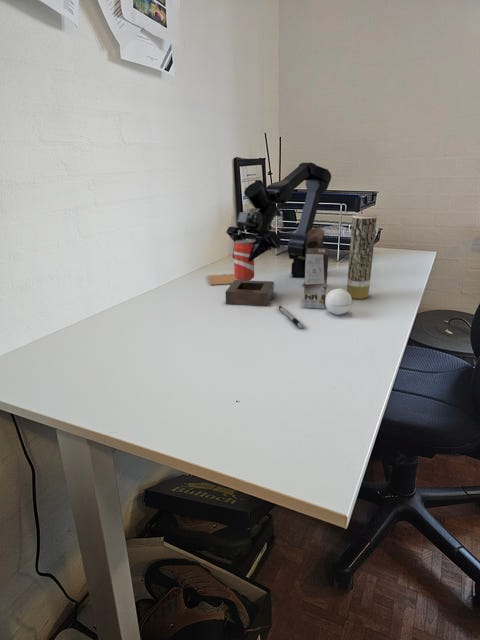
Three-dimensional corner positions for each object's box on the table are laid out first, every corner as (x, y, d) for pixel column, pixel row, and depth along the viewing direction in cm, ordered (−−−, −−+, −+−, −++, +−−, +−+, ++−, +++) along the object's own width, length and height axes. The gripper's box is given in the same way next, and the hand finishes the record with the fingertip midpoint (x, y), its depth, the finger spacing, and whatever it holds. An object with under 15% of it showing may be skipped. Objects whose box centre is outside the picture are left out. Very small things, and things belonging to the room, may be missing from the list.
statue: (325, 284, 139) (329, 226, 132) (320, 290, 133) (324, 229, 126) (306, 282, 142) (309, 225, 135) (300, 288, 136) (303, 228, 129)
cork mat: (239, 274, 154) (239, 273, 154) (244, 283, 143) (244, 282, 143) (208, 276, 152) (208, 275, 152) (210, 285, 141) (210, 284, 141)
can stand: (273, 293, 131) (273, 281, 130) (268, 306, 119) (268, 293, 118) (235, 291, 134) (234, 279, 132) (225, 304, 122) (225, 291, 121)
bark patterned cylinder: (368, 294, 128) (377, 214, 119) (367, 300, 122) (376, 217, 113) (347, 292, 131) (353, 213, 121) (345, 298, 125) (351, 216, 115)
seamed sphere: (324, 318, 109) (326, 292, 107) (323, 309, 116) (325, 284, 114) (362, 319, 108) (365, 293, 105) (359, 310, 115) (361, 285, 112)
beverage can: (258, 278, 127) (257, 240, 123) (245, 282, 123) (244, 243, 118) (243, 275, 131) (242, 238, 127) (230, 279, 127) (229, 241, 122)
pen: (282, 309, 117) (282, 305, 116) (305, 330, 102) (305, 325, 101) (277, 309, 116) (278, 305, 116) (300, 330, 102) (300, 325, 101)
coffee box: (325, 309, 116) (328, 254, 110) (302, 308, 117) (305, 253, 111) (325, 299, 124) (328, 247, 119) (304, 298, 126) (306, 247, 120)
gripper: (229, 200, 127) (205, 240, 123) (275, 203, 115) (251, 247, 112) (246, 222, 135) (224, 260, 132) (291, 227, 123) (269, 269, 120)
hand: (241, 259), depth 124 cm, fingers closed on beverage can, 6 cm apart
